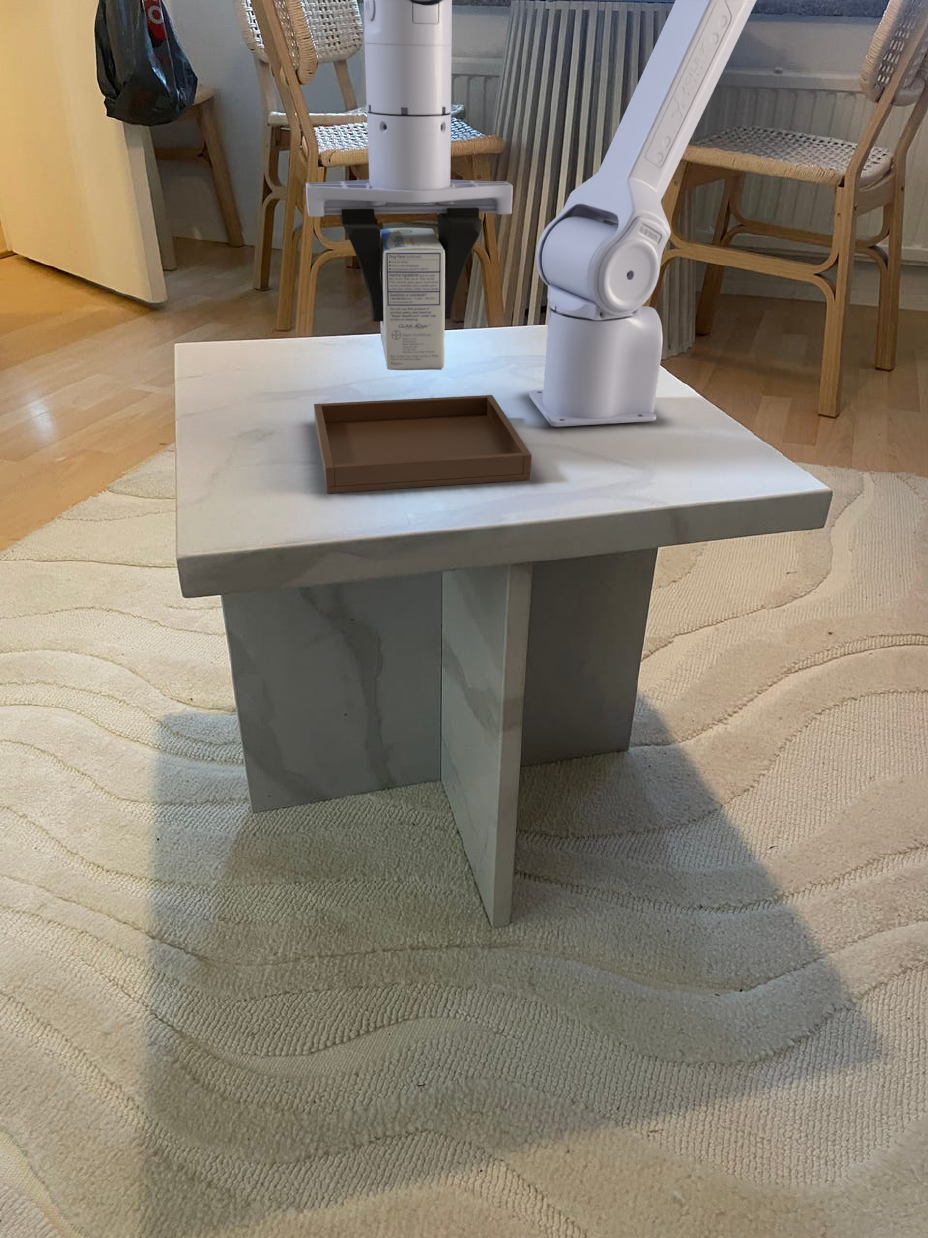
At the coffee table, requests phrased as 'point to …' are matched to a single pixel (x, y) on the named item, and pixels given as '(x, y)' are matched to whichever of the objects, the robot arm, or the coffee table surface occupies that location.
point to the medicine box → (412, 298)
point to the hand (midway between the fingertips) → (411, 316)
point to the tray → (418, 443)
